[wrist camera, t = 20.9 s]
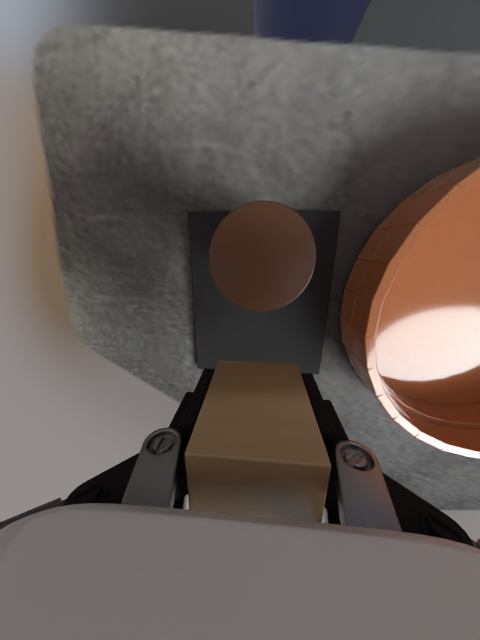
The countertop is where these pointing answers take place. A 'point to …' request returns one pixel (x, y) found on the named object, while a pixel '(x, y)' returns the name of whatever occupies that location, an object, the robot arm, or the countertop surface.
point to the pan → (423, 312)
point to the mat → (266, 326)
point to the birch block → (257, 445)
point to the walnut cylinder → (262, 256)
